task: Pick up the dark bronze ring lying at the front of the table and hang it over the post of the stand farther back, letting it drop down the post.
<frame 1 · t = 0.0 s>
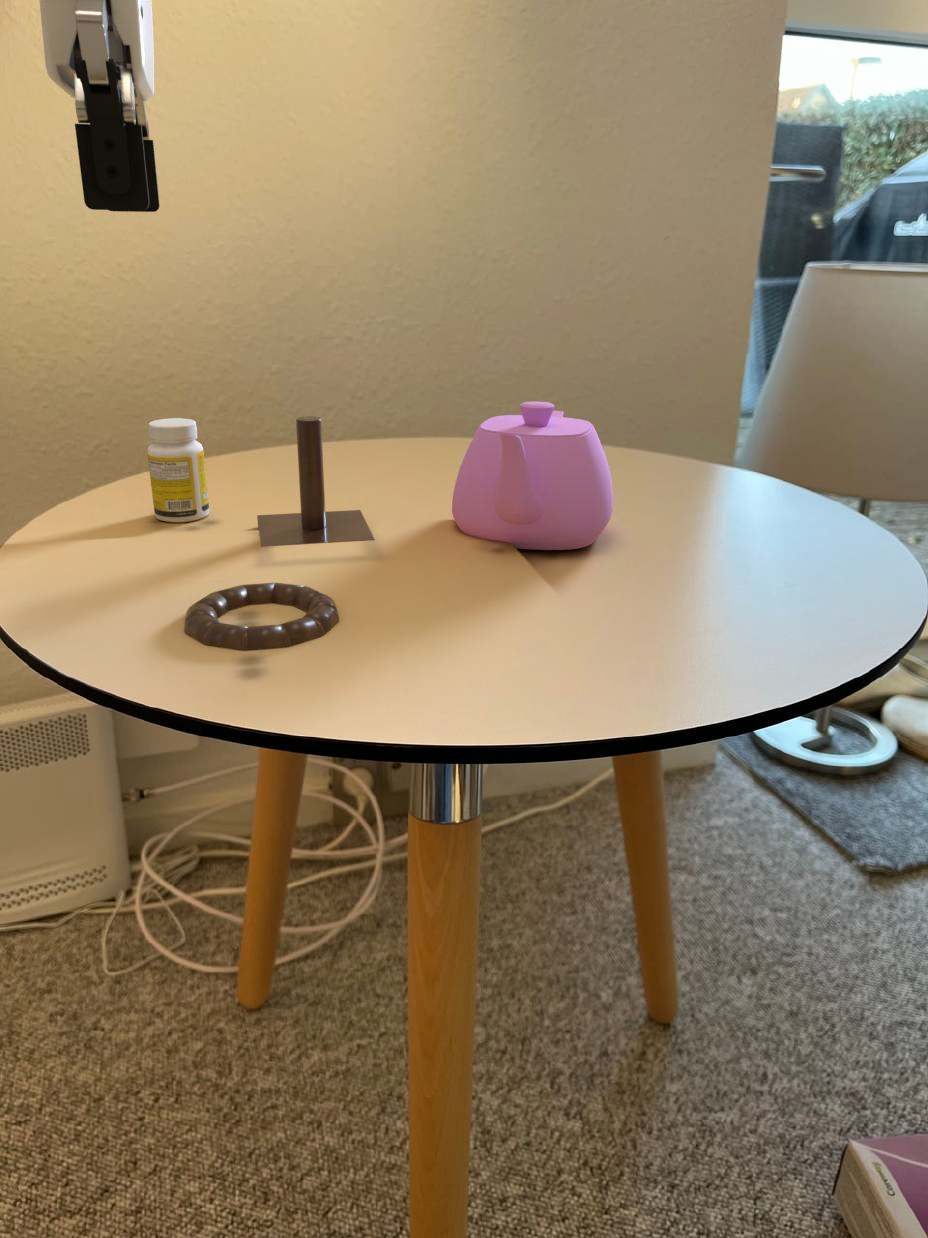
hand: (126, 210, 56), 25 cm above the table, tool pointing down, fingers open, 9 cm apart
ring: (262, 619, 63), point 1 cm above the table
stand: (314, 538, 82), on the table
supplement bottle: (182, 518, 88), on the table
teapot: (530, 538, 83), on the table
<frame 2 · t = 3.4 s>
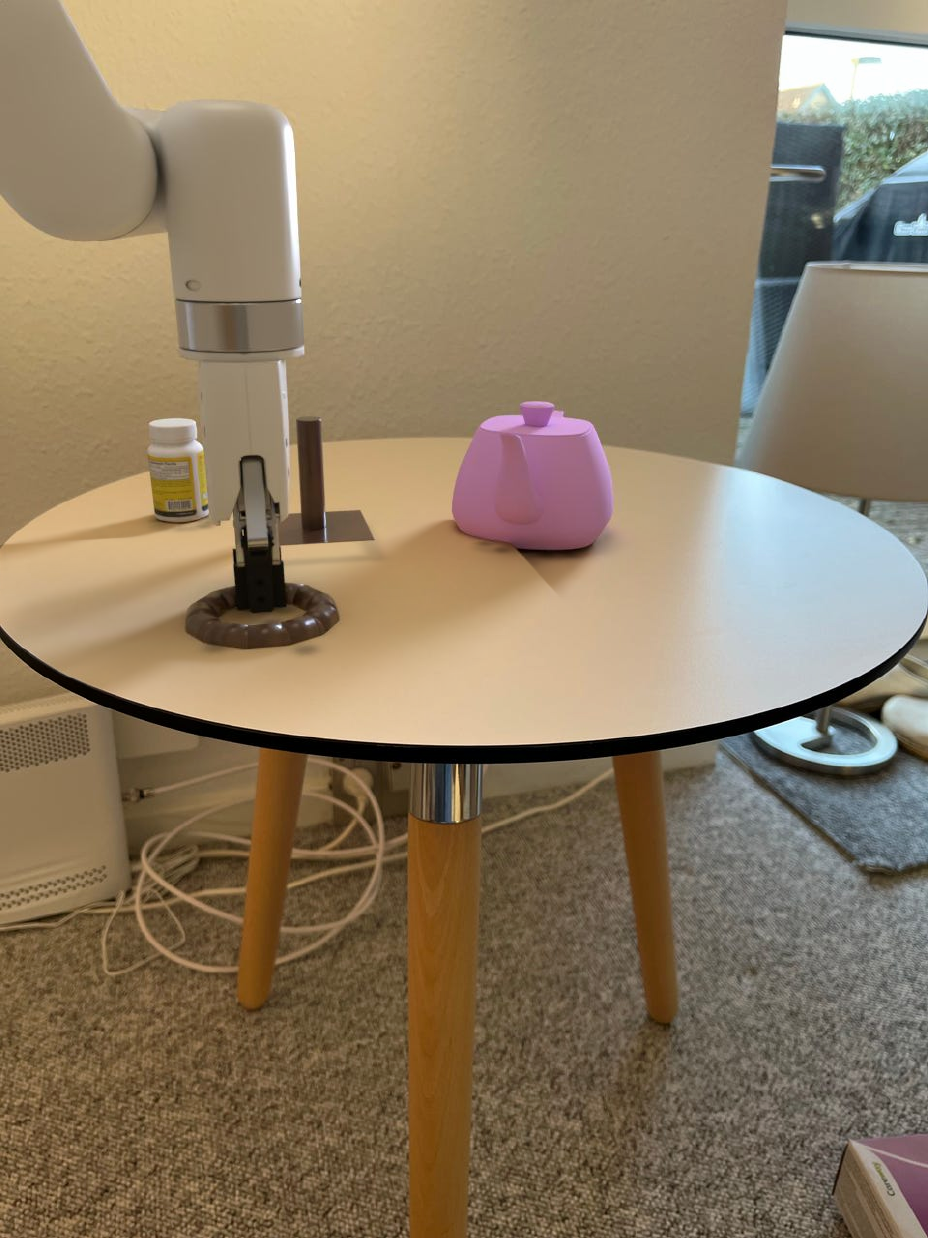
hand: (261, 609, 67), 0 cm above the table, tool pointing down, fingers closed on ring, 2 cm apart
ring: (262, 617, 63), point 1 cm above the table, touching gripper
everything else where it was.
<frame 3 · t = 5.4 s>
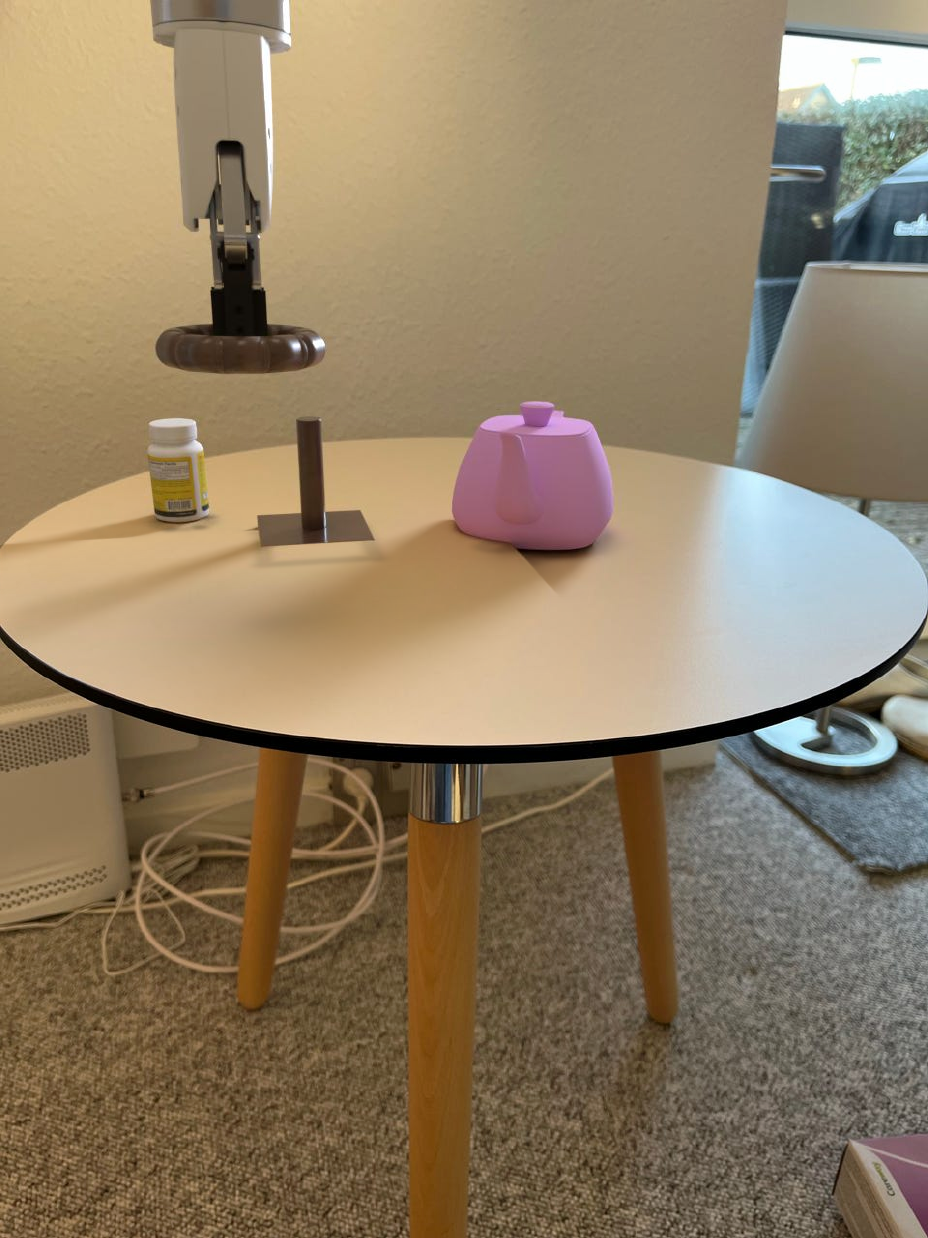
hand: (241, 353, 61), 17 cm above the table, tool pointing down, fingers closed on ring, 2 cm apart
ring: (241, 347, 58), point 18 cm above the table, touching gripper
everything else where it was.
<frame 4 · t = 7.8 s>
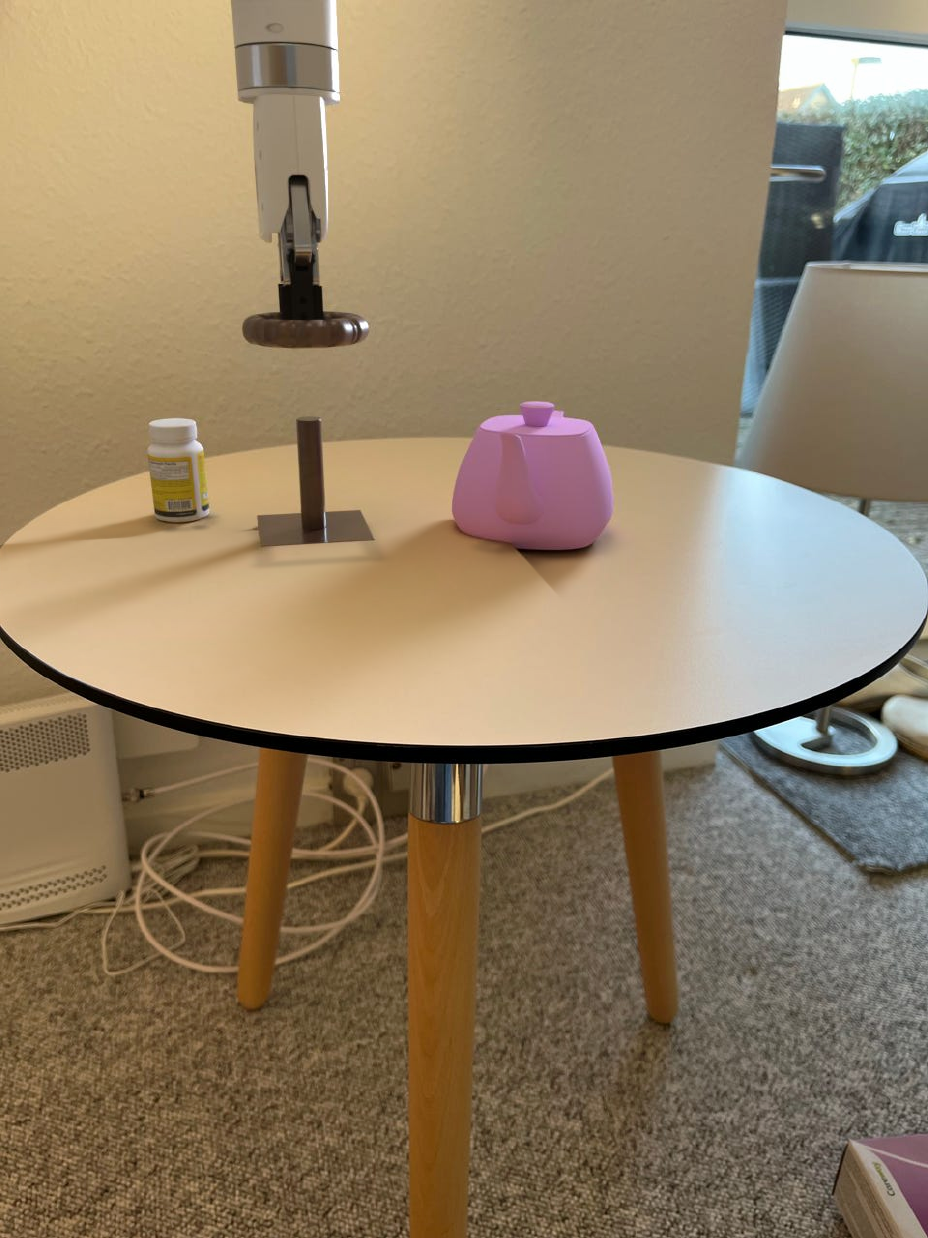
hand: (302, 334, 80), 16 cm above the table, tool pointing down, fingers closed on ring, 2 cm apart
ring: (305, 328, 76), point 17 cm above the table, touching gripper
everything else where it was.
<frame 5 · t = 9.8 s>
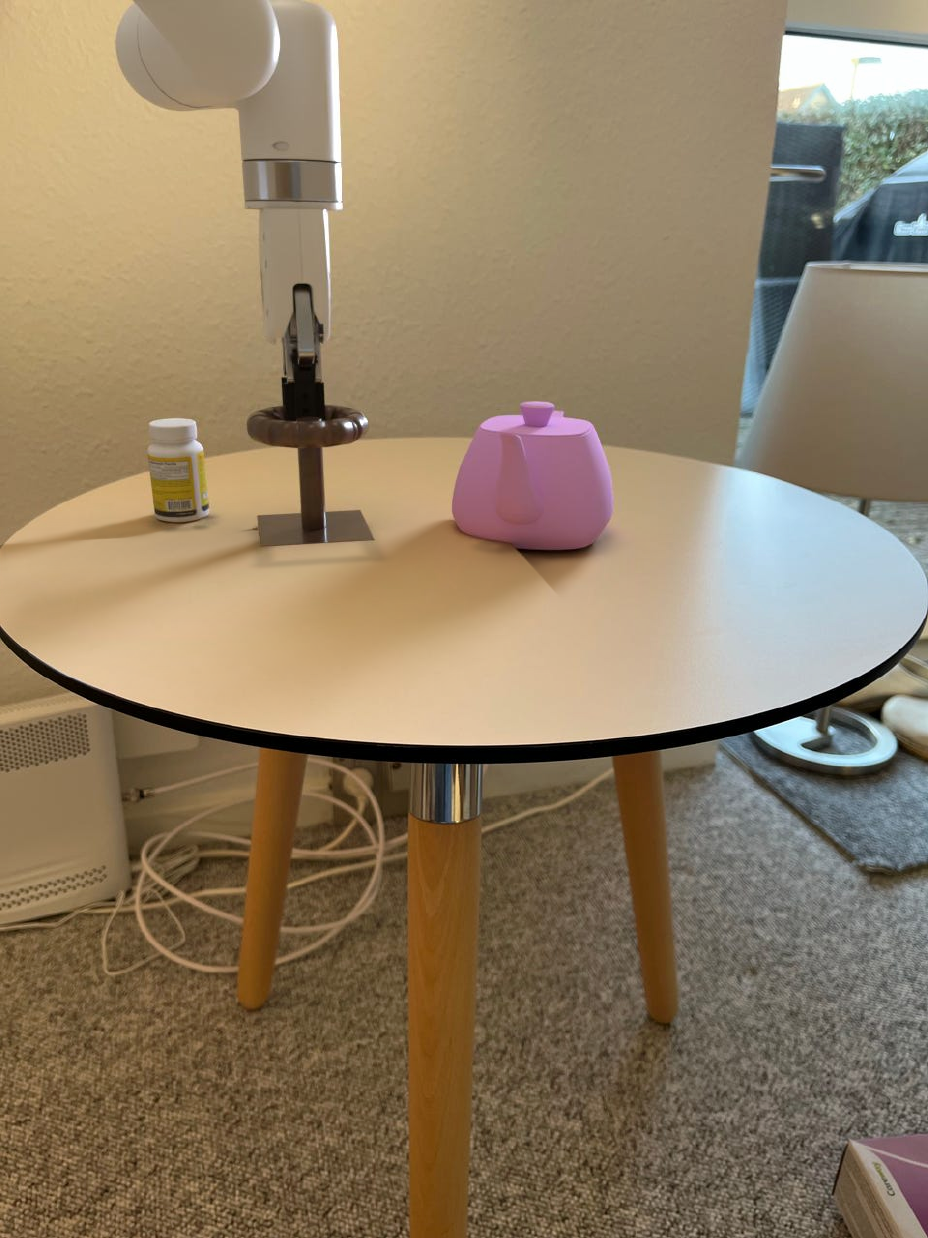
hand: (304, 426, 82), 9 cm above the table, tool pointing down, fingers closed on ring, 2 cm apart
ring: (307, 425, 79), point 9 cm above the table, touching gripper
everything else where it was.
when the fingers open (9 cm above the table, at t = 12.2 s): ring drops 8 cm, resting on stand.
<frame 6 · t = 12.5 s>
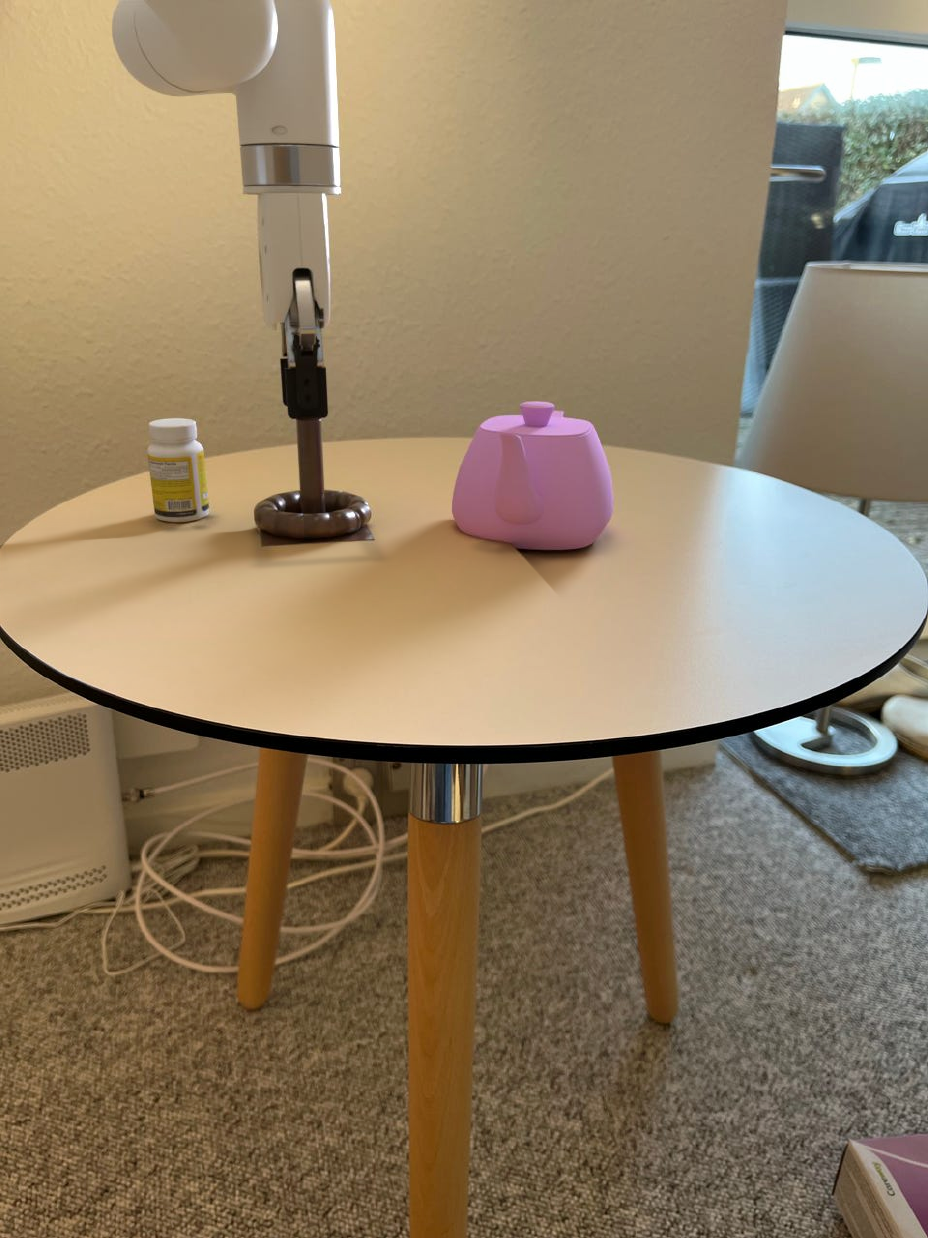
hand: (304, 409, 82), 10 cm above the table, tool pointing down, fingers open, 5 cm apart
ring: (312, 513, 82), point 2 cm above the table, touching stand
everything else where it was.
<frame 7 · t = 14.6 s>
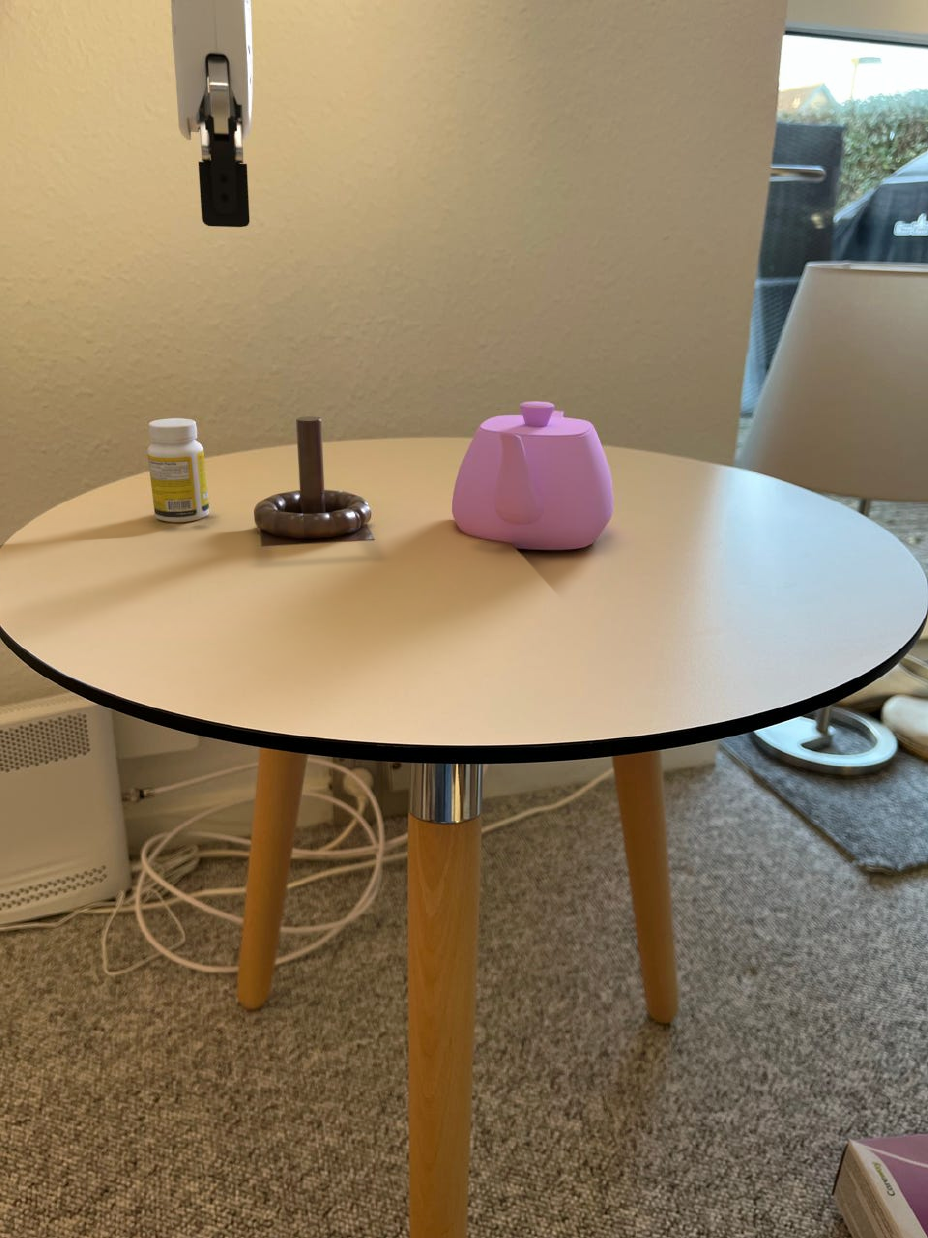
hand: (225, 226, 73), 24 cm above the table, tool pointing down, fingers open, 9 cm apart
nothing on the table moved.
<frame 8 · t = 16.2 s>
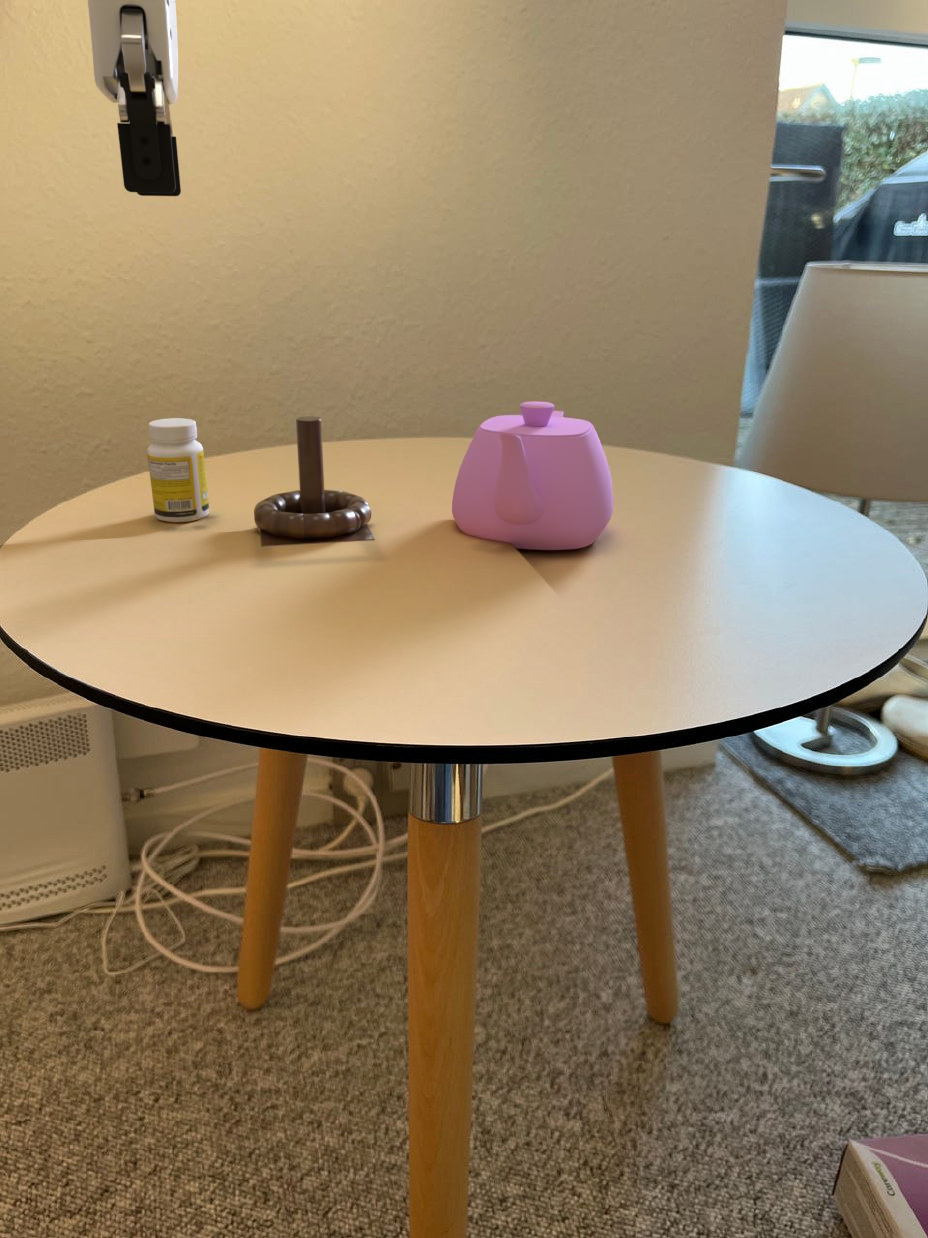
hand: (155, 193, 69), 26 cm above the table, tool pointing down, fingers open, 9 cm apart
nothing on the table moved.
at the end: ring 0.6 cm off-centre on the stand, point 2.0 cm above the stand's base; the gripper is holding nothing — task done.
